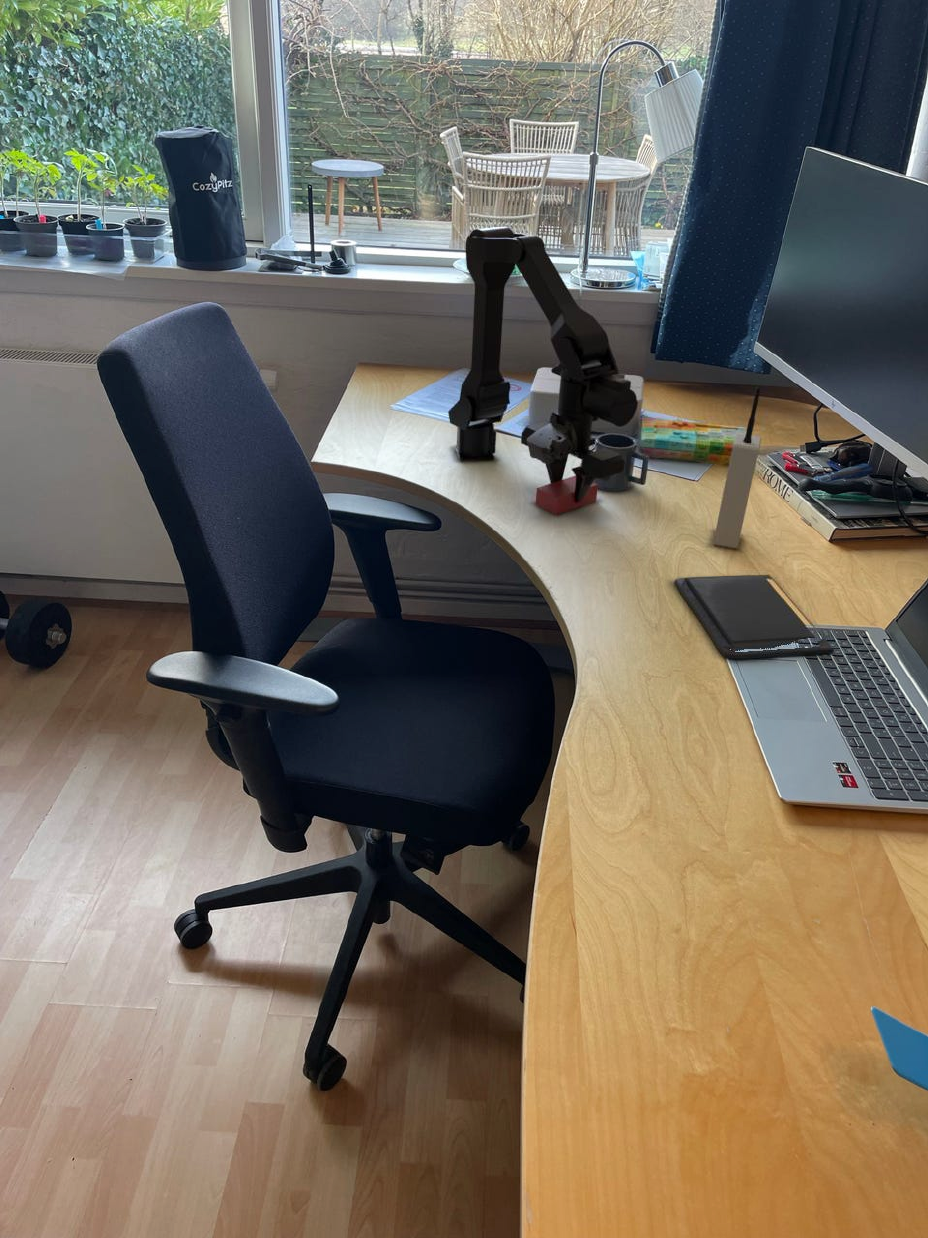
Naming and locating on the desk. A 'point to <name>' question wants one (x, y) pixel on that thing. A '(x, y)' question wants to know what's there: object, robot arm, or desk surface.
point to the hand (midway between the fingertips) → (566, 496)
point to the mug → (628, 451)
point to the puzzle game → (688, 440)
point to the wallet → (748, 615)
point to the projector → (547, 398)
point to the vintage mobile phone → (738, 484)
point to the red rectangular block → (563, 496)
